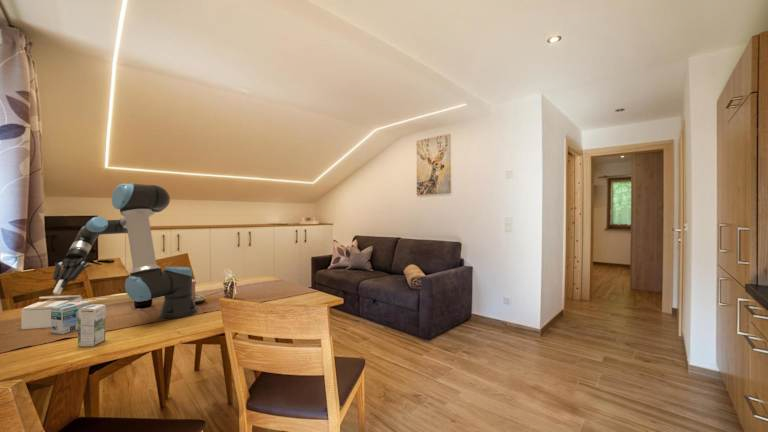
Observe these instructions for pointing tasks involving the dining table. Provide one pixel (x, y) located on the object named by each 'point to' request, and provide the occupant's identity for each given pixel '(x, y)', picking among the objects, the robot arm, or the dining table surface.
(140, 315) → the dining table surface
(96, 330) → the syrup box
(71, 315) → the light bulb box
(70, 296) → the flap
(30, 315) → the carton
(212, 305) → the dining table surface
